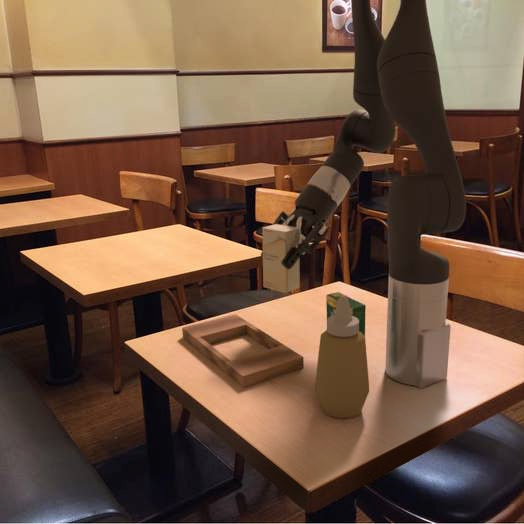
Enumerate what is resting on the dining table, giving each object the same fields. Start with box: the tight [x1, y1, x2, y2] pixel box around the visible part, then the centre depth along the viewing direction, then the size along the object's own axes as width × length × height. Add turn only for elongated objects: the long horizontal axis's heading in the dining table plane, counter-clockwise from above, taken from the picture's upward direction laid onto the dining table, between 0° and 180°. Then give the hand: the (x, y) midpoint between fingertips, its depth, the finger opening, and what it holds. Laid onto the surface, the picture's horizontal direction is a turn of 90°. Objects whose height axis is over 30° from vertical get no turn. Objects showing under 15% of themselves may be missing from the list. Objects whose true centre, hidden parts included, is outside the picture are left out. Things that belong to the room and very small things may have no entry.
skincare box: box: [261, 223, 300, 294], centre depth 111 cm, size 6×4×12 cm
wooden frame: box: [181, 313, 305, 388], centre depth 106 cm, size 24×12×2 cm, turn 32°
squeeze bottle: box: [314, 294, 370, 419], centre depth 83 cm, size 8×8×18 cm
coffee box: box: [325, 291, 367, 337], centre depth 95 cm, size 8×3×13 cm, turn 25°
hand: (274, 262), depth 110 cm, fingers closed on skincare box, 7 cm apart
